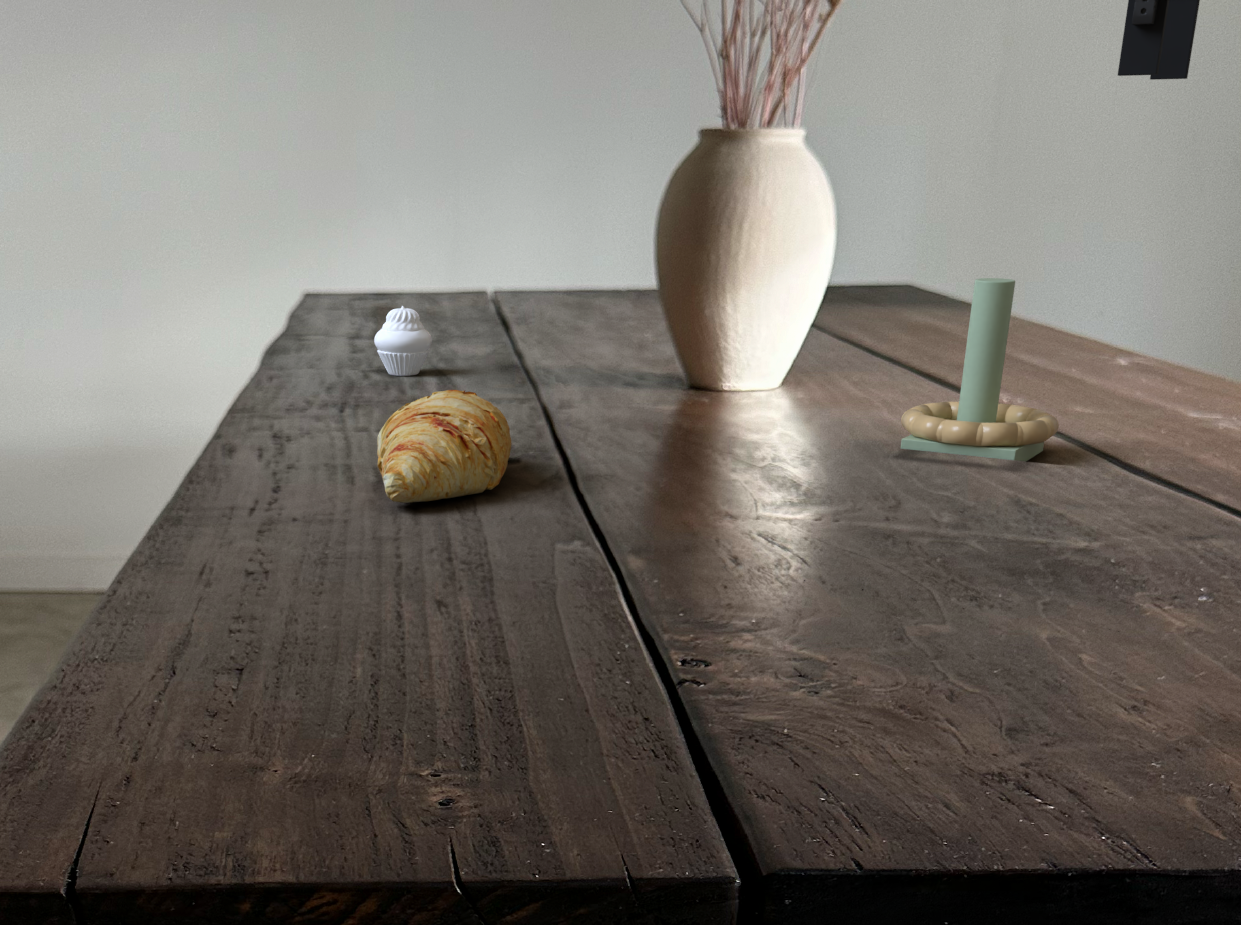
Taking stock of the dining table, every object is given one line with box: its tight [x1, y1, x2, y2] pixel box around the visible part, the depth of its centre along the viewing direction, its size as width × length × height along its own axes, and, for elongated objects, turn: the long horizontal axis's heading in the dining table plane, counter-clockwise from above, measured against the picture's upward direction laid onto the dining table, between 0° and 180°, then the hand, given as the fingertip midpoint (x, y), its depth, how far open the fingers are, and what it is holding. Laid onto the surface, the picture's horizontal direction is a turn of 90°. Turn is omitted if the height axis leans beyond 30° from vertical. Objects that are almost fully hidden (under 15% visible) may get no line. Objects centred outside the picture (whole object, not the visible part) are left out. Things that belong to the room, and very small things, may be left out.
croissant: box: [376, 389, 512, 504], centre depth 118 cm, size 21×10×8 cm, turn 162°
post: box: [900, 277, 1045, 462], centre depth 127 cm, size 9×9×14 cm
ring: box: [900, 401, 1060, 446], centre depth 129 cm, size 12×12×2 cm
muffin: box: [373, 305, 433, 377], centre depth 170 cm, size 6×6×7 cm
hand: (1153, 77), depth 125 cm, fingers open, 13 cm apart
